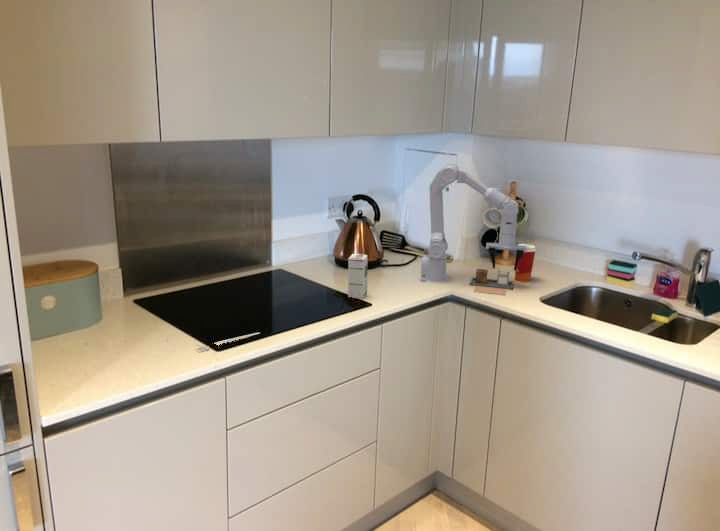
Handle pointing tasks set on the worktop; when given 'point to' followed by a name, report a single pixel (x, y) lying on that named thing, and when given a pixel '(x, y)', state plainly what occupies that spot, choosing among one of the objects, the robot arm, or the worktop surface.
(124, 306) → the worktop surface
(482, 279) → the walnut block
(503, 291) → the rubber mat
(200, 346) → the fork
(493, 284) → the parts tray
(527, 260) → the paper cup
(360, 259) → the syrup box
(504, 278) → the labelled block
